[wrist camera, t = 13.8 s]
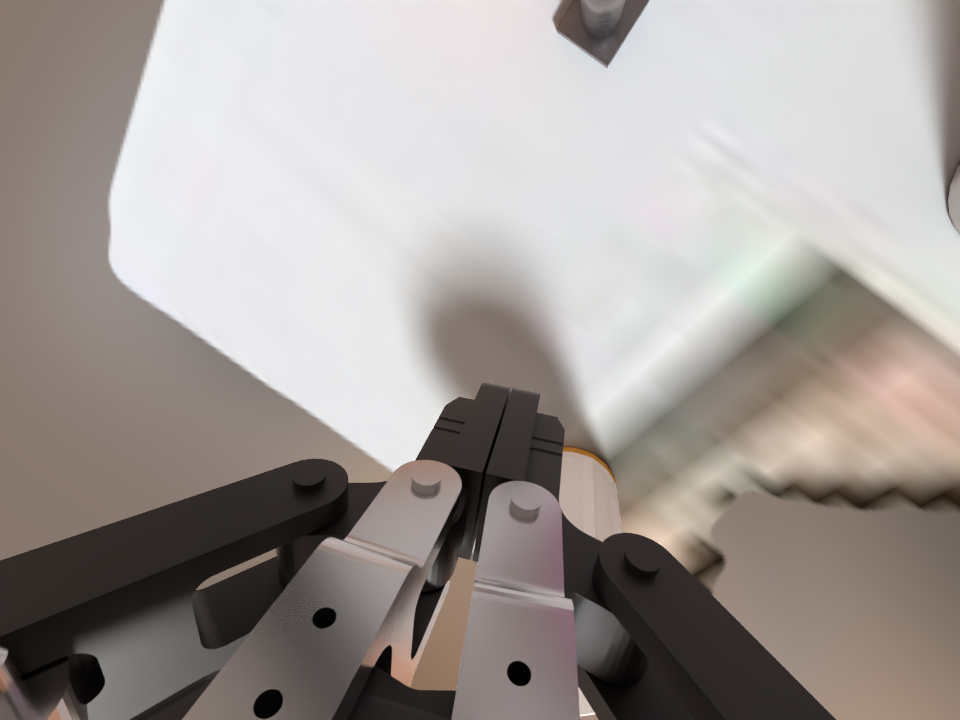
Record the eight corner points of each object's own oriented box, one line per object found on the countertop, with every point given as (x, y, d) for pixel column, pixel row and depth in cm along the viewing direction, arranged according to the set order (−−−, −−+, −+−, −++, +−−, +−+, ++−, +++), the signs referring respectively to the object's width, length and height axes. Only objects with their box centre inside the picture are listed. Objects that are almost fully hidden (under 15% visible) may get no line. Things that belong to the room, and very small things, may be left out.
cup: (486, 471, 47) (435, 632, 31) (578, 414, 42) (572, 570, 27) (557, 546, 49) (543, 732, 33) (653, 500, 44) (688, 691, 29)
